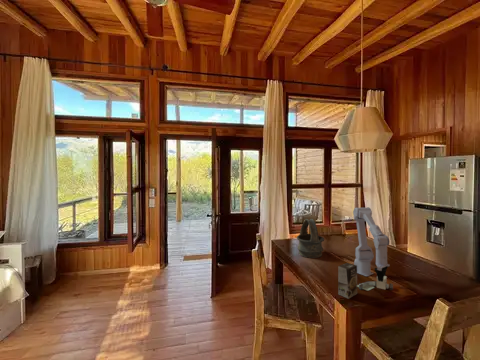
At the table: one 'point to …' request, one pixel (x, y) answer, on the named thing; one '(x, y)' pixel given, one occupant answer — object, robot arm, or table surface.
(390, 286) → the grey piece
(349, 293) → the coffee box
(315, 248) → the basket with handle
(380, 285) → the u block
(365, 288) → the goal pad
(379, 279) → the robot arm
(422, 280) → the table surface
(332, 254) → the table surface
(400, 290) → the table surface
